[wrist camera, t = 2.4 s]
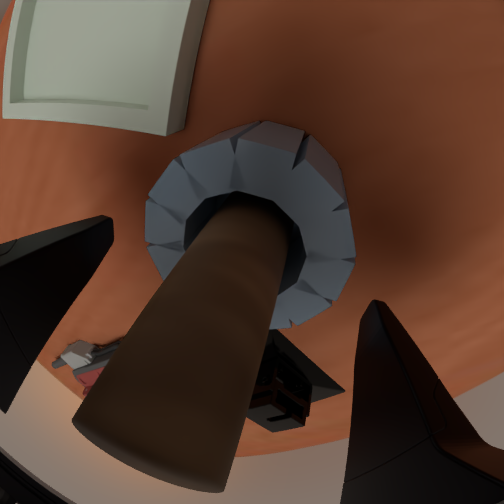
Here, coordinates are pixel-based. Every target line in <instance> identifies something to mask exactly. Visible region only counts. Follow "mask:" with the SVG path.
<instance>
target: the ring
mask: <svg viewBox="0 0 504 504" xmlns="http://www.w3.org/2000/svg"><path fill="white" fill-rule="evenodd" d="M304 132H305V131H303V130H300V129H296V128H293V127H289V126H285V125H282V124H278V123H274V122H270V121H264V122H263V123H260V121H256V122H253V123H249V124H246V125H242V126H239V127H236V128H232V129H229V130H226V131H223V132H221V133H219V134H217V135H215V136H213V137H211V138H209V139H207V140H206V141H204V142H202V143H200V144H198V145H196V146H194V147H193V148H191V149H189V150H187V151H185V152H183V153H182V154H180V156H178V157H176V158H175V159H173V160H172V162H171V163H170V164H169V166H168V167H167V168H166V170H165V171H164V173H163V174H162V175H161V177H160V178H159V179H158V181H157V182H156V184H155V185H154V186H153V188H152V189H151V191H150V192H149V194H148V195H149V196H150V198H149V199H148V200H146V209H145V241H146V242H149V243H150V244H149V245H148V246H147V247H146V248H147V250H148V252H149V254H150V256H151V257H152V259H153V261H154V263H155V265H156V267H157V269H158V271H159V273H160V275H161V277H162V279H163V281H164V280H165V279H166V277H167V276H168V275H169V273H170V272H171V270H172V269H173V268H174V266H175V265H176V264H177V262H178V261H179V260H180V258H181V257H182V256H183V254H184V253H185V252H186V250H187V249H188V248H189V246H190V245H191V244H192V242H193V241H194V240H195V238H196V237H197V236H198V234H199V233H200V232H201V231H202V229H203V228H204V227H205V225H206V224H207V223H208V222H209V220H210V219H211V218H212V216H213V215H214V214H215V213H216V211H217V210H218V209H219V207H220V206H221V205H222V204H223V202H224V201H225V200H226V199H227V197H228V196H229V195H230V194H231V192H233V191H237V190H238V191H241V192H245V193H248V194H252V195H255V196H259V197H262V198H266V199H269V200H272V201H274V202H275V203H276V204H277V205H278V206H279V207H280V208H281V209H282V210H283V211H284V212H285V213H286V214H287V215H288V216H289V217H290V218H291V219H292V220H293V221H294V226H293V231H292V235H291V240H290V244H289V249H288V253H287V257H286V262H285V266H284V270H283V275H282V279H281V283H280V287H279V292H278V296H277V300H276V304H275V308H274V312H273V316H272V320H271V324H270V328H269V329H282V328H291V327H292V322H294V323H295V324H296V325H297V326H298V325H300V324H302V323H304V322H305V321H307V320H309V319H310V318H312V317H314V316H316V315H317V314H319V313H321V312H322V311H324V310H326V309H327V308H329V307H331V306H332V300H334V301H337V299H338V297H339V295H340V293H341V291H342V289H343V287H344V286H345V284H346V282H347V280H348V278H349V276H350V274H351V272H352V270H353V268H354V266H355V258H354V257H356V251H355V244H354V237H353V231H352V225H351V219H350V213H349V208H348V202H347V197H346V192H345V187H344V182H343V177H342V173H341V168H339V167H338V163H337V162H336V160H335V159H334V158H333V157H332V156H331V155H330V154H329V153H328V152H327V151H326V150H325V149H324V148H323V147H322V146H321V145H320V144H319V143H318V142H317V140H316V139H315V138H314V137H313V136H312V135H311V134H310V135H309V136H308V137H307V138H306V139H305V140H304V141H303V142H302V139H303V136H304Z"/></svg>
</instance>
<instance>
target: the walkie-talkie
mask: <svg viewBox="0 0 504 504" xmlns="http://www.w3.org/2000/svg"><path fill="white" fill-rule="evenodd" d="M120 343H121V341H117V342H115V343H113V344H111V345H108V346H106V347H104V348H102V349H99V348H98V347H97V346H95V345H93V344H90V343H87V342H85V341H82V340H79V341H77V342H76V343H74V344H72V345H71V344H70V345H68V346H67V348H66V349H65V350H64V351H63V353H62V354H61V358H59V359H57V360H56V361H54V362H52V367H53V368H55V369H56V368H59V367H61V366H63V365H66V364H68V365H70V366H71V367H72V368H73V369H74V370H73V371H72V372H73V374H74V376H75V378H76V380H77V381H78V382H80V383H81V384H82V385H83V386H84V387H85V389H84V391H83V395H84V396H85V397H86V395H87V394H88V392H89V391H90V389H91V387H92V386H93V384H94V383H95V381H96V380H97V378H98V376H99V375H100V373H101V372H102V370H103V369H104V367H105V366H106V364H107V363H108V361H109V359H110V358H111V356H112V355H113V353H114V352H115V350H116V349H117V347H118V346H119V344H120Z"/></svg>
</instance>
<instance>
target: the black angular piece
mask: <svg viewBox="0 0 504 504" xmlns="http://www.w3.org/2000/svg"><path fill="white" fill-rule="evenodd" d="M343 392H345V390H344V389H343V388H342V387H341V386H339V385H338V384H337V383H336V382H335V381H334V380H333V379H331V378H330V377H329V376H328V375H327V374H326V373H325V372H324V371H322V370H321V369H320V368H319V367H318V366H317V365H316V364H315V363H313V362H312V361H311V360H310V359H309V358H308V357H307V356H306V355H305V354H303V353H302V352H301V351H300V350H299V349H298V348H297V347H296V346H295V345H293V344H292V343H291V342H290V341H289V340H288V339H287V338H286V337H285V336H284V335H283V334H281V333H280V332H279V331H278V330H277V329H269V332H268V336H267V340H266V344H265V348H264V352H263V356H262V360H261V364H260V367H259V371H258V375H257V379H256V382H255V386H254V390H253V393H252V397H251V401H250V404H249V408H248V411H247V415H246V417H247V418H249V419H250V420H252V421H254V422H255V423H257V424H259V425H260V426H262V427H264V428H266V429H267V430H269V431H271V432H278V431H283V430H289V429H293V428H298V427H303V426H305V421H306V417H308V416H309V412H310V405H311V403H312V402H315V401H318V400H322V399H325V398H328V397H331V396H334V395H337V394H340V393H343Z"/></svg>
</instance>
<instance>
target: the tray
mask: <svg viewBox="0 0 504 504" xmlns="http://www.w3.org/2000/svg"><path fill="white" fill-rule="evenodd" d="M209 1H210V0H16V1H15V5H14V10H13V14H12V19H11V24H10V30H9V36H8V42H7V50H6V58H5V68H4V81H3V118H10V119H32V120H48V121H60V122H71V123H80V124H89V125H97V126H105V127H113V128H119V129H126V130H133V131H139V132H145V133H151V134H156V135H162V136H168V135H170V134H173V133H175V132H178V131H180V130H183V129H184V126H185V119H186V113H187V106H188V100H189V95H190V89H191V83H192V78H193V73H194V67H195V62H196V57H197V53H198V48H199V43H200V39H201V34H202V30H203V26H204V21H205V17H206V13H207V9H208V5H209Z"/></svg>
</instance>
